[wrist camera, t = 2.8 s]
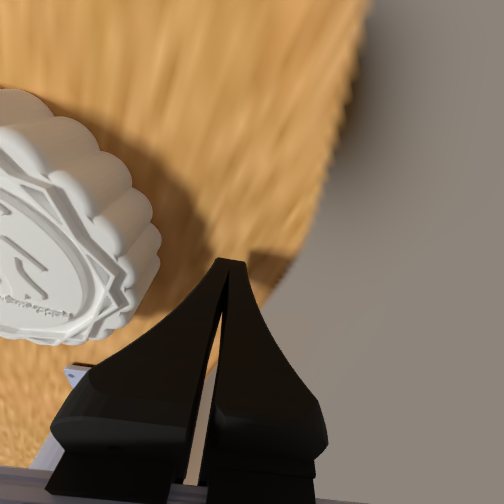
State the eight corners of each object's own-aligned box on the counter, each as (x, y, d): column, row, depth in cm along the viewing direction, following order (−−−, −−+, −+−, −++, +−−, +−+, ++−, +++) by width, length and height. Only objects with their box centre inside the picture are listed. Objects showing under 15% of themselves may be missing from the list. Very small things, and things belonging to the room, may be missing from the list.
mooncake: (191, 162, 10) (162, 195, 7) (143, 325, 17) (118, 377, 14) (-176, -3, 8) (-451, -54, 5) (-63, 265, 14) (-148, 313, 11)
